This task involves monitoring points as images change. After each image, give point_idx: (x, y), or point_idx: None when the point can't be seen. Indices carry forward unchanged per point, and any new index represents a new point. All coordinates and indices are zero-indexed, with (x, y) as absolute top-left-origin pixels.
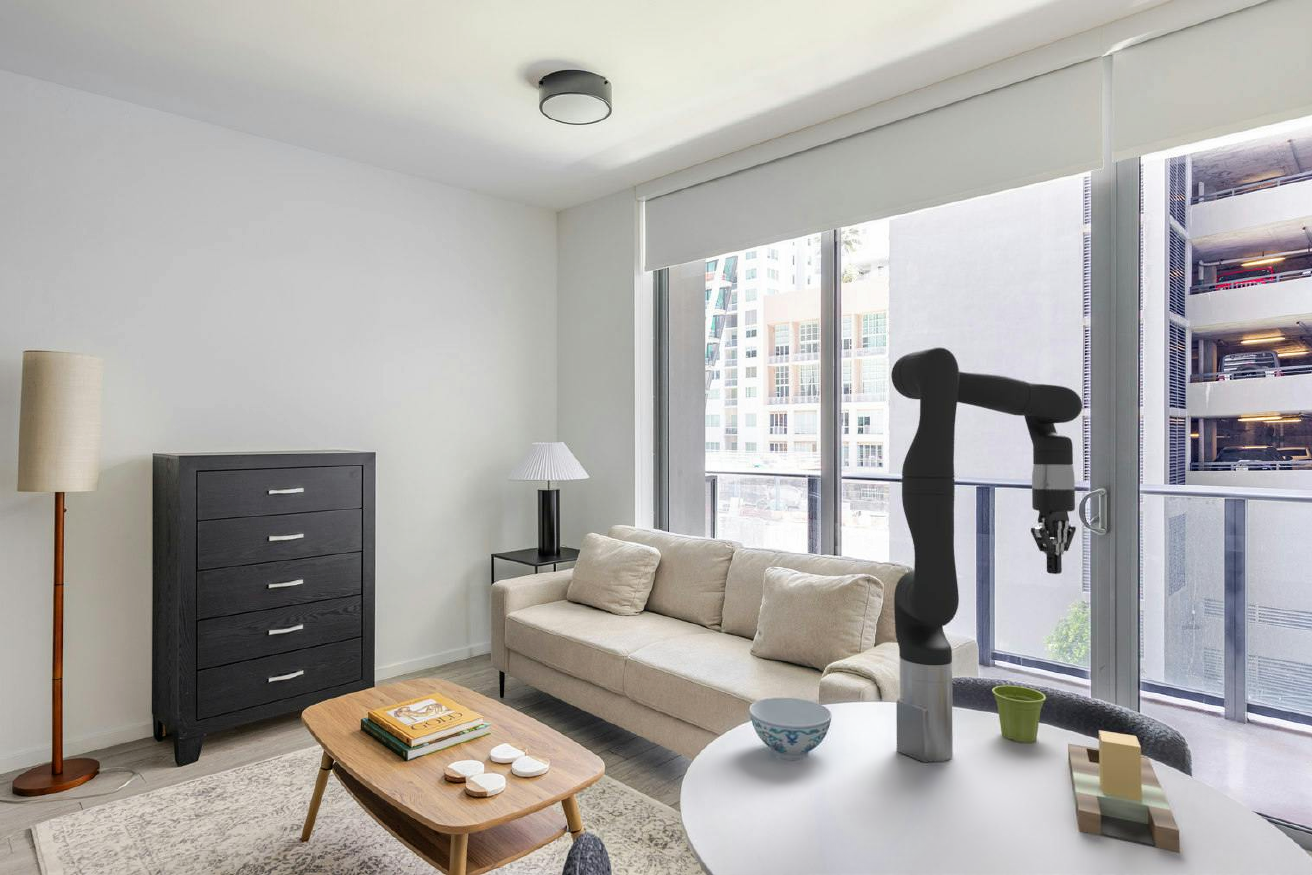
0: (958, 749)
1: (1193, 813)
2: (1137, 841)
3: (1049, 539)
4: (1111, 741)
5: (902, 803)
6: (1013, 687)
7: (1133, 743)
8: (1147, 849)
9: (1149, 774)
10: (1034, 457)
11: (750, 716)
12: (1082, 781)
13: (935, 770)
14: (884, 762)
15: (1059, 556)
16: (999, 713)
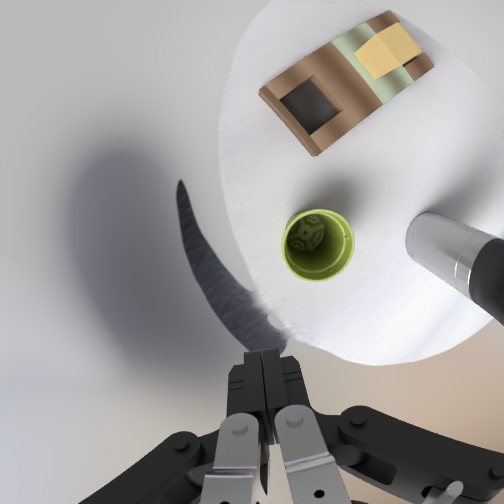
0: (396, 230)
1: (307, 31)
2: None
3: (420, 458)
4: (413, 45)
5: (493, 170)
6: (297, 273)
7: (397, 29)
8: None
9: (309, 61)
10: None
11: None
12: (392, 87)
13: (446, 201)
14: None
15: (265, 405)
16: (332, 250)
